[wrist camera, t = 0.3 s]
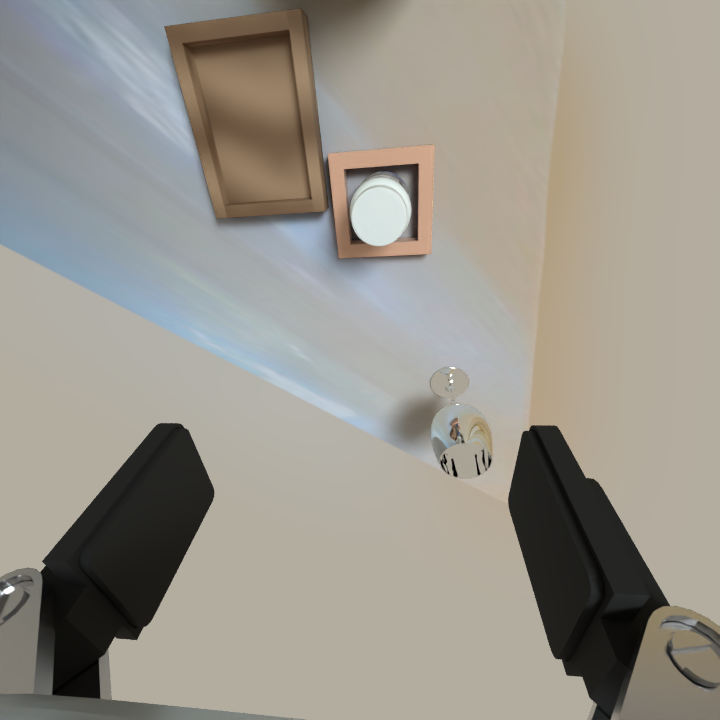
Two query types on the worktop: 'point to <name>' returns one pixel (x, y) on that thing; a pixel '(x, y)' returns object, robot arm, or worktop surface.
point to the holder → (375, 159)
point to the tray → (253, 111)
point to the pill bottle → (380, 209)
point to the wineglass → (459, 429)
